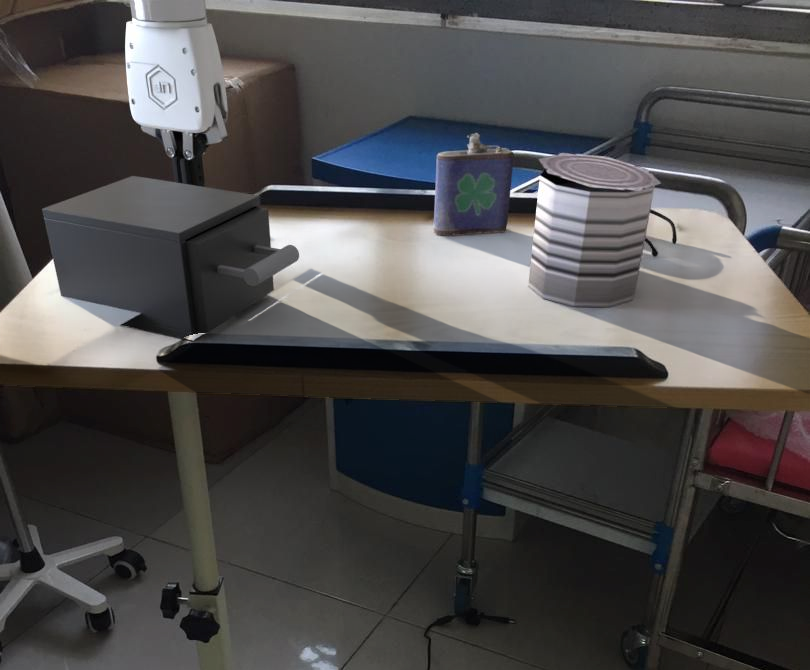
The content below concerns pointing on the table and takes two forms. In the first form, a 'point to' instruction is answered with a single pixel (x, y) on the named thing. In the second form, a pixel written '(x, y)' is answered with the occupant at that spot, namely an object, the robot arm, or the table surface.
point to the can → (589, 229)
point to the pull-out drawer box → (233, 266)
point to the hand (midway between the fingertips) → (191, 192)
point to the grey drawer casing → (137, 247)
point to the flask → (472, 189)
